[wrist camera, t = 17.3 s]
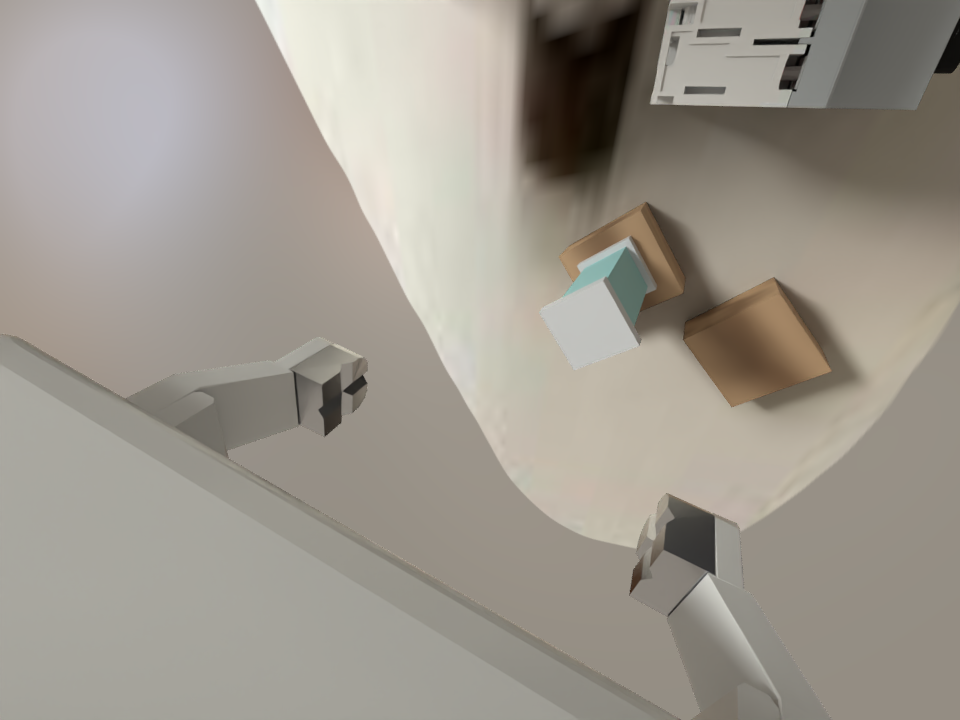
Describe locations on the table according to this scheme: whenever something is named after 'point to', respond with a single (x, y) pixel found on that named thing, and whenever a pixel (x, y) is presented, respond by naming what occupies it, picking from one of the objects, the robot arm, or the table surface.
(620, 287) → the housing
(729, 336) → the stand
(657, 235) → the stand
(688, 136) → the table surface
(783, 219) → the table surface
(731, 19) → the circuit breaker
